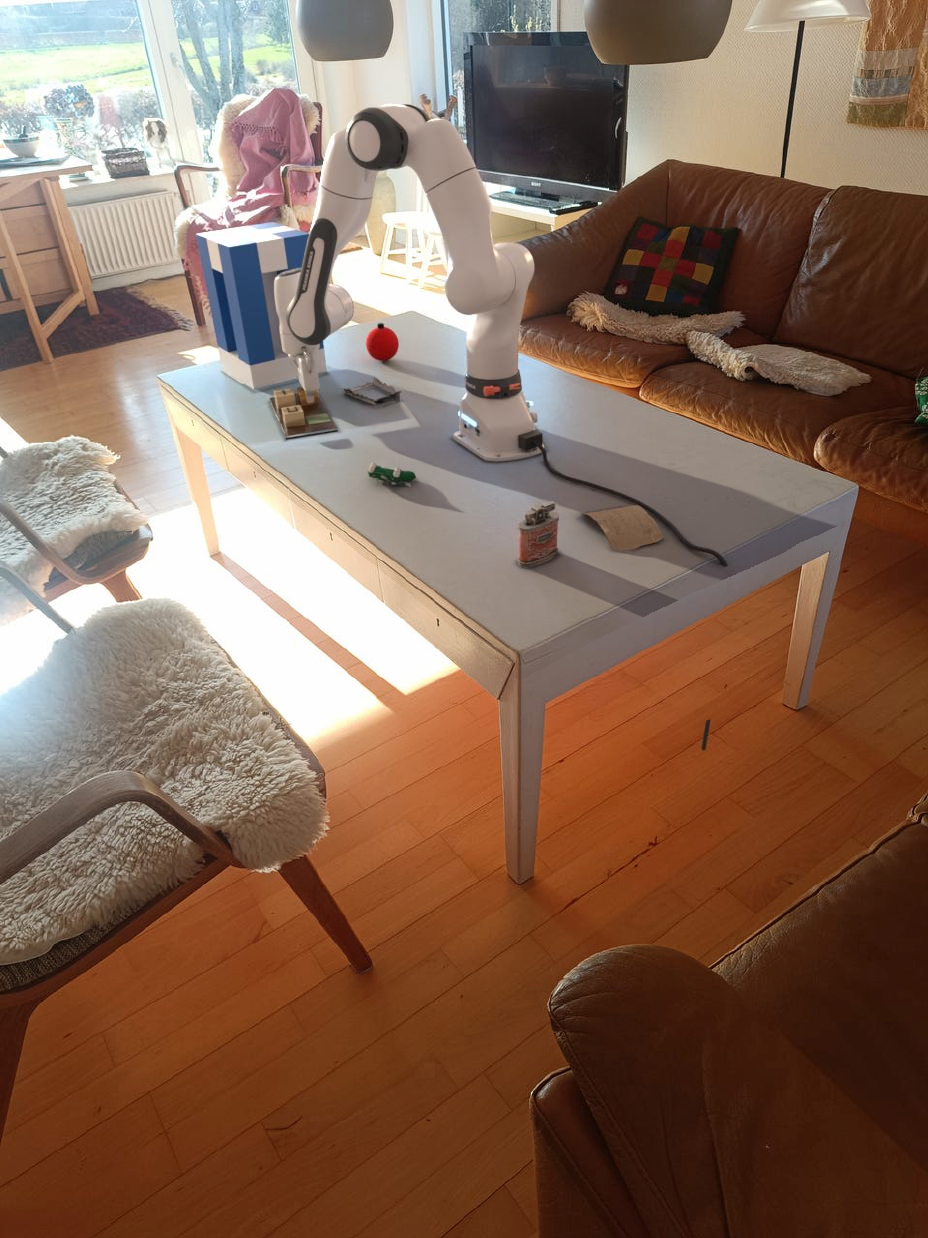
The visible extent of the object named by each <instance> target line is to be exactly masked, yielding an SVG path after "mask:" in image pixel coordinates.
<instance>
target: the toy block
mask: <svg viewBox="0 0 928 1238" xmlns="http://www.w3.org/2000/svg"><path fill="white" fill-rule="evenodd" d="M309 233H310V232H305V231H302V230H299V229H297V228H294V227H290V226H287V225H284V224H280V223H278V222H274V221H270V222H269V221H268V222H264V223H257V224H251V225H244V226H237V227H231V228H224V229H219V230H212V231H206V232H199V233H195V237H196V243H197V247H198V248H197V249H198V253H199V257H200V263H201V268H202V272H203V274H202V275H203V278H204V283H205V288H206V294H207V297H208V304H209V309H210V314H211V319H212V324H213V329H214V335H215V340H216V344H217V349H218V350H217V351H218V354H219V355H218V356H219V360H220V365H221V370H222V372H223V373H224V374H225V375H227V376H229V377H230V378H232V379H233V380H235V381H236V382H238V383H239V384H240V385H247V386H248V387H250V388H251V389H253V390H256V389H260V388H264V387H268V386H272V385H276V384H280V383H284V382H288V381H293V380H296V379H298V378H297V376H296V374H295V373H294V371H293V369H292V367H291V364H290V361H289V357H288V354H287V353H285V352H283V350H282V344H281V338H280V331H279V326H280V320H279V317H278V314H277V312H276V305H275V297H274V281H275V277H276V276H277V275H278V274H280V273H282V272H284V271H287V270H290V269H294V268H302V263H303V258H304V253H305V249H306V244H307V240H308V237H309ZM314 359H315V362H316V366H317V371H318V374H323V373H327V372H328V369H327V360H326V353H325V346H324V340H323V341H322V342H321V343H320V348H319V349H318V350H316V351H315V356H314Z"/></svg>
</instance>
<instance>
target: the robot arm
mask: <svg viewBox="0 0 928 1238" xmlns="http://www.w3.org/2000/svg"><path fill="white" fill-rule="evenodd" d="M405 167H409V168H410V169H412V170H413V171H414V173H415V174H416V175H417V177H418V180H419V181H420V184H421V186H422V189H423V191H424V194H425V197H426V199H427V201H428V203H429V205H430V208H431V210H432V213H433V215H434V218H435V220H436V222H437V226H438V228H439V230H440V234H441V237H442V241H443V244H444V245H443V246H444V249H445V250H444V251H445V256H446V264H447V274H446V278H445V283H444V290H445V296H446V298H447V300H448V303H449V305H450V306H451V307H452V308H453V309H454V310H455V311H456V312H457V313H460V314H461V315H465V316H472V320H471V323H470V325H469V327H468V329H467V332H466V337H465V345H466V347H465V348H466V370H465V376H464V383H465V385H464V386H465V390H466V391H465V394H464V396H463V397H462V398H461V400H460V402H459V411H458V412H457V413H458V414H457V415H458V416H459V419H458V420H459V421H458V422H459V423H458V424H459V425H458V426H459V427H458V428H459V429H458V430H457V431H456V432H454V433H453V440H454V441H456V442H457V443H458V444H460V445H461V446H462V447H464V448H466V449H467V450H468V451H470V452H471V453H473V454H474V455H476V456H477V457H479V458H480V459H482V460H484V461H486V462H509V461H515V460H521V459H526V458H530V457H534V456H537V455H540V454H542V460H543V463H544V465H545V467H546V468H547V470H548V471H549V472H550V473H551V474H553V475H554V476H556V477H558V478H561V479H563V480H565V481H568V482H572V483H576V484H579V485H583V486H586V487H590V488H592V489H595V490H599V491H602V492H605V493H608V494H611V495H613V496H616V497H619V498H621V499H623V500H626V501H628V502H630V503H633V504H635V505H637V506H640V507H642V508H643V509H644V510H645V511H646V512H647V511H648V512H649V513H650V514H652V515H654V516H655V517H656V518H657V519H659V520H660V521H661V522H662V523H663V524H664V525H666V526H667V527H668V528H669V529H670V530H671V531H672V532H673V533H674V535H675V536H676V537H677V538H678V540H679V541H680V542H681V543H682V544H684V545H685V546H686V547H687V548H689V549H691V550H693V551H696V552H701V553H706V554H708V555H711V556H713V557H714V558H716V559H717V560H718V561H719V563H720V565H721V566H722V567H724V568H726V567H728V563H727V561H726V560H725V558H724V557H723V556H722V555H721V554H720V552H718V551H716V550H714V549H711V548H708V547H704V546H699V545H696V544H694V543H692V542H691V541H689V540H688V539H687V538H685V536H684V535H682V533H681V532H680V530H679V529H678V528H677V527H676V526H675V525H674V524H673V523H672V522H671V521H669V520H668V519H667V518H666V517H665V516H664V515H662V514H661V513H660V512H658V511H657V510H656V509H654V508H653V507H651V506H650V505H648V504H646V503H645V502H643V501H641V500H638V499H636V498H634V497H632V496H630V495H628V494H625V493H622V492H621V491H617V490H614V489H611V488H609V487H605V486H603V485H600V484H596V483H593V482H590V481H586V480H583V479H580V478H577V477H572V476H569V475H566V474H564V473H562V472H560V471H558V470H556V469H554V468H553V467H552V466H551V465H550V462H549V460H548V455H547V451H546V448H545V444H544V443H543V439H544V437H543V436H544V435H543V433H542V432H541V431H539V430H537V429H536V427H535V426H534V424H537V423H538V414H537V412H535V411H534V412H531V411H530V407H531V406H534V401H531V400H526V398H525V395H524V391H523V384H522V376H521V371H520V369H519V341H520V340H519V337H520V329H521V323H522V319H523V318H522V317H523V313H524V308H525V302H526V298H527V293H528V289H529V286H530V284H531V282H532V280H533V278H534V274H535V261H534V257H533V255H532V253H531V252H530V250H529V249H528V248H526V246H524V245H523V244H521V243H517V242H509V241H508V242H498V243H496V244H495V242H494V238H493V231H492V216H493V205H492V202H491V200H490V197H489V195H488V193H487V190H486V188H485V185H484V183H483V180H482V178H481V175H480V173H479V171H478V169H477V165H476V163H475V161H474V159H473V156H472V154H471V152H470V150H469V148H468V146H467V145H466V142H465V140H464V139H463V137H462V136H461V134H460V132H459V131H458V130H457V128H456V126H455V124H453V122H451V121H450V120H448V119H445V118H434V119H431V118H430V116H429V115H428V114H427V112H426V111H425V110H423V109H421V108H420V107H418V106H416V105H413V104H408V103H405V104H404V103H403V104H392V103H387V104H381V105H377V106H374V107H373V106H371V107H366V108H364V109H362V110H360V111H359V112H357V113H356V114H355V115H354V116H352V117H351V119H350V120H349V123H348V124H347V127H346V128H342V129H339V130H336V132H334V133H333V134H332V136H331V138H330V140H329V143H328V146H327V148H326V152H325V156H324V160H323V165H322V169H321V174H320V181H319V189H318V195H317V201H316V206H315V207H316V208H315V211H314V216H313V220H312V223H311V227H310V230H309V232H308V233H309V237H308V240H307V244H306V249H305V253H304V258H303V263H302V268H294V269H290V270H287V271H284V272H282V273H280V274H278V275H277V276H276V277H275V281H274V297H275V305H276V312H277V314H278V317H279V320H280V326H279V331H280V338H281V344H282V350H283V352H285V353H287V354H288V357H289V361H290V364H291V367H292V369H293V371H294V373H295V374H296V376H297V378H296V379H297V380H298V382H299V385H300V387H303V389H304V391H305V394H306V395H305V396H306V401H307V403H314V392H317V391H318V392H319V391H320V389H321V385H320V377H319V373H318V371H317V366H316V362H315V359H314V356H315V351H316V350H318V349H319V348H320V343H321V342H322V341H323V342H324V341H325V340H326V339H327V338H329V336H331V335H332V334H334V333H335V332H338V331H339V330H340V329H341V328H343V327H344V326H346V325H348V323H350V321H351V320H352V319H353V316H354V311H355V309H354V308H355V307H354V301H353V299H352V297H351V295H350V293H349V292H348V291H347V290H346V289H345V288H344V287H342V286H340V285H339V284H332V283H331V279H332V275H333V269H334V266H335V263H336V261H337V258H338V256H339V255H340V253H341V252H342V251H343V250H344V248H345V247H346V246H347V245H348V244H349V243H350V242H351V240H353V239H354V238H355V237H356V236H358V234H359V233H361V231H363V229H364V228H365V226H366V223H367V221H368V218H369V215H370V212H371V208H372V203H373V198H374V191H375V185H376V184H375V183H376V179H377V176H378V173H379V172H382V171H386V170H398V169H399V170H400V169H402V168H405ZM711 721H712V719H711V718H709V719H706V720H705V725H704V731H703V735H702V736H703V737H702V743H701V751H706V750H707V745H708V738H709V733H710V725H711Z"/></svg>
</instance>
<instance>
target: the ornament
mask: <svg viewBox="0 0 928 1238" xmlns="http://www.w3.org/2000/svg"><path fill="white" fill-rule="evenodd" d="M399 343H400V342H399V339H398V335H397V334H396V333H395V331H394V330H392V329H391V328H390V327H387V326H385V323H383V322H379V323H377V325H376V327H374V328H373V329H371V331H369V333H368V335H367V336H366V339H365V347H366V350H367V353H368V354H369V355H370V357H371V358H373V359H374V360H375V361H379V362H386V361H389V360H391V359H393V358H394V357H395V356H396V354H397V352H398V351H399V346H400V344H399Z"/></svg>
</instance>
